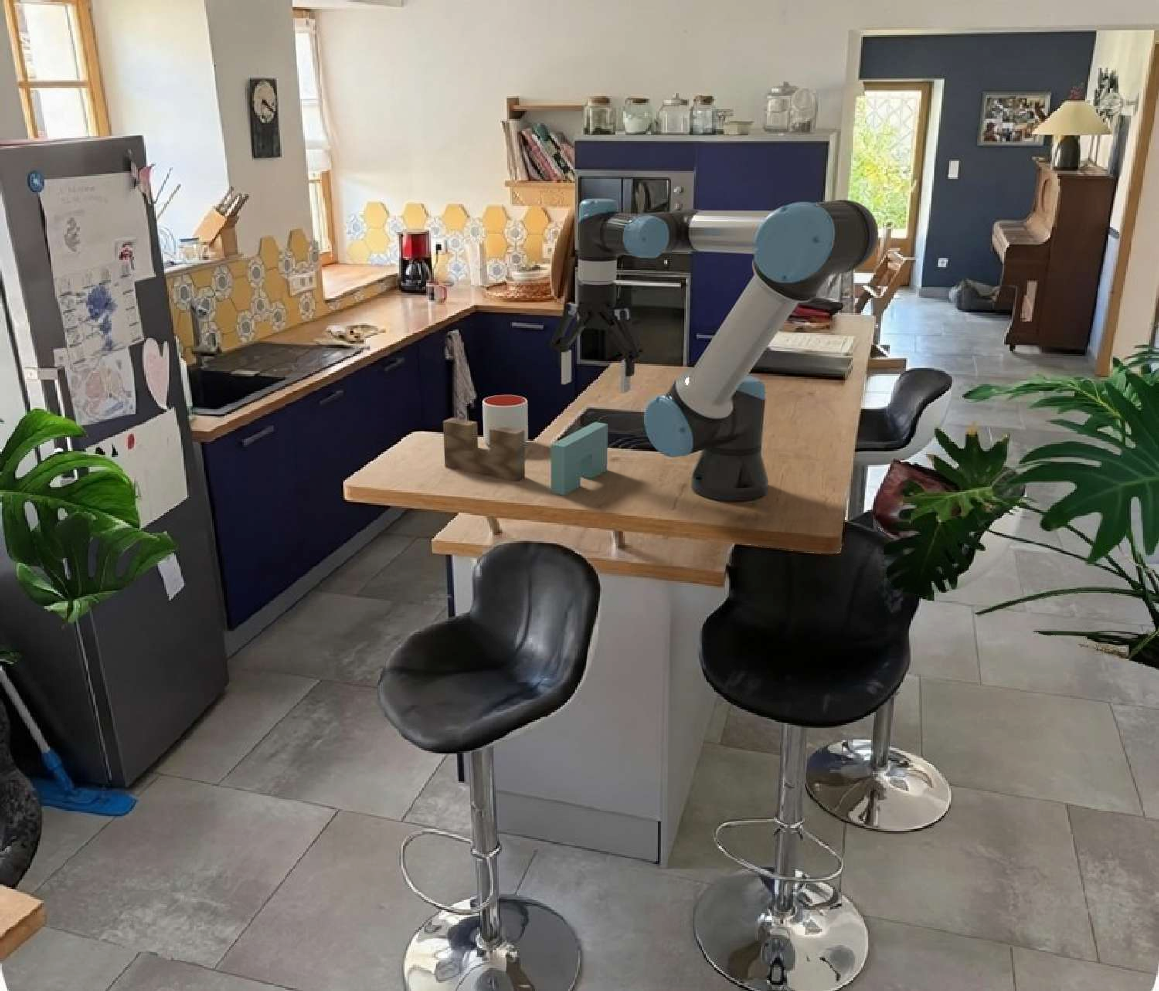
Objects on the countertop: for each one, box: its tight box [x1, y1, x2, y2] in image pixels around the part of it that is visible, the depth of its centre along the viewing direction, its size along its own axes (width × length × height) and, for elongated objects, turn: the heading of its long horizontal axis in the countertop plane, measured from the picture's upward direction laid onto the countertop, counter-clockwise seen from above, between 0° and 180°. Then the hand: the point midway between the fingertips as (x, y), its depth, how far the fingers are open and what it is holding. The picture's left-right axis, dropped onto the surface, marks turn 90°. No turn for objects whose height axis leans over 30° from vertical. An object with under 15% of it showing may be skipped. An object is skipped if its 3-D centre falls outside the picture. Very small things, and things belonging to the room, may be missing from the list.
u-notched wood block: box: [442, 417, 526, 482], centre depth 211 cm, size 18×3×10 cm, turn 61°
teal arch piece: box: [550, 421, 609, 497], centre depth 206 cm, size 18×3×10 cm, turn 151°
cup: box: [482, 394, 529, 447], centre depth 230 cm, size 10×10×10 cm
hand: (595, 387), depth 207 cm, fingers open, 13 cm apart
